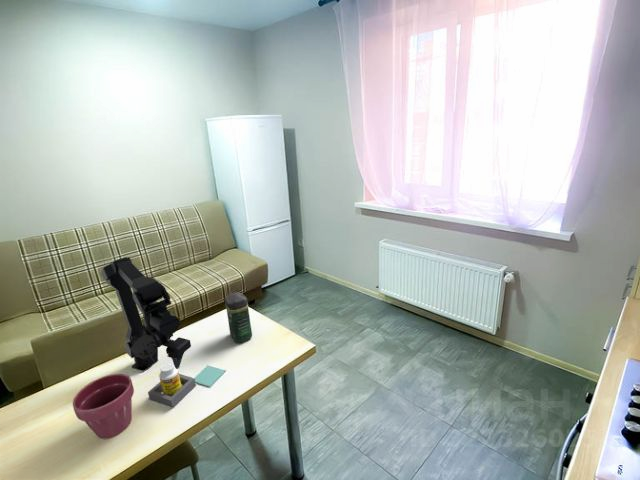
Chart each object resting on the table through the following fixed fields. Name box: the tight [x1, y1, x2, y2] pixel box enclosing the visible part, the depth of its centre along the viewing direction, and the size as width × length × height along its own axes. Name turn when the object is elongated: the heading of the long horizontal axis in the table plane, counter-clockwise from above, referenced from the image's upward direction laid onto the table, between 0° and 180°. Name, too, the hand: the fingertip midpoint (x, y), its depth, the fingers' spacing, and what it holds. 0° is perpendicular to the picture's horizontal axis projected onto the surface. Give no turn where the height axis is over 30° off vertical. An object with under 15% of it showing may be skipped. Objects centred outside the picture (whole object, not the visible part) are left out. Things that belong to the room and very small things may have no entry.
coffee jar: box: [224, 291, 253, 344], centre depth 133 cm, size 10×8×19 cm
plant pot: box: [72, 373, 135, 440], centre depth 96 cm, size 14×14×13 cm
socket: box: [147, 373, 197, 409], centre depth 108 cm, size 10×10×3 cm
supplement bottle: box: [158, 362, 183, 397], centre depth 107 cm, size 6×6×10 cm
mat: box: [193, 364, 227, 388], centre depth 115 cm, size 8×8×1 cm
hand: (166, 364), depth 105 cm, fingers open, 9 cm apart
